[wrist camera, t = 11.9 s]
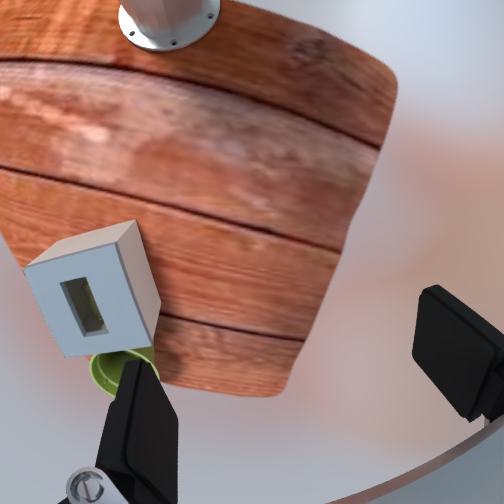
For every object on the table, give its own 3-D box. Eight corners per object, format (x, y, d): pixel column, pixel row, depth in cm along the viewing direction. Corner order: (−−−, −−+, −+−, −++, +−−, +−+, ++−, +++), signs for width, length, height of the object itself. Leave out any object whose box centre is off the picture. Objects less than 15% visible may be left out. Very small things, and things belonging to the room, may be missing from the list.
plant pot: (123, 299, 40) (107, 334, 32) (177, 335, 43) (173, 374, 35) (95, 340, 42) (79, 376, 34) (145, 371, 45) (138, 410, 37)
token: (93, 269, 37) (80, 286, 33) (105, 265, 37) (94, 281, 33) (108, 302, 39) (98, 321, 35) (120, 298, 39) (111, 317, 35)
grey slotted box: (58, 240, 36) (23, 268, 27) (135, 219, 37) (114, 244, 28) (87, 316, 40) (64, 357, 31) (161, 302, 41) (151, 345, 32)
